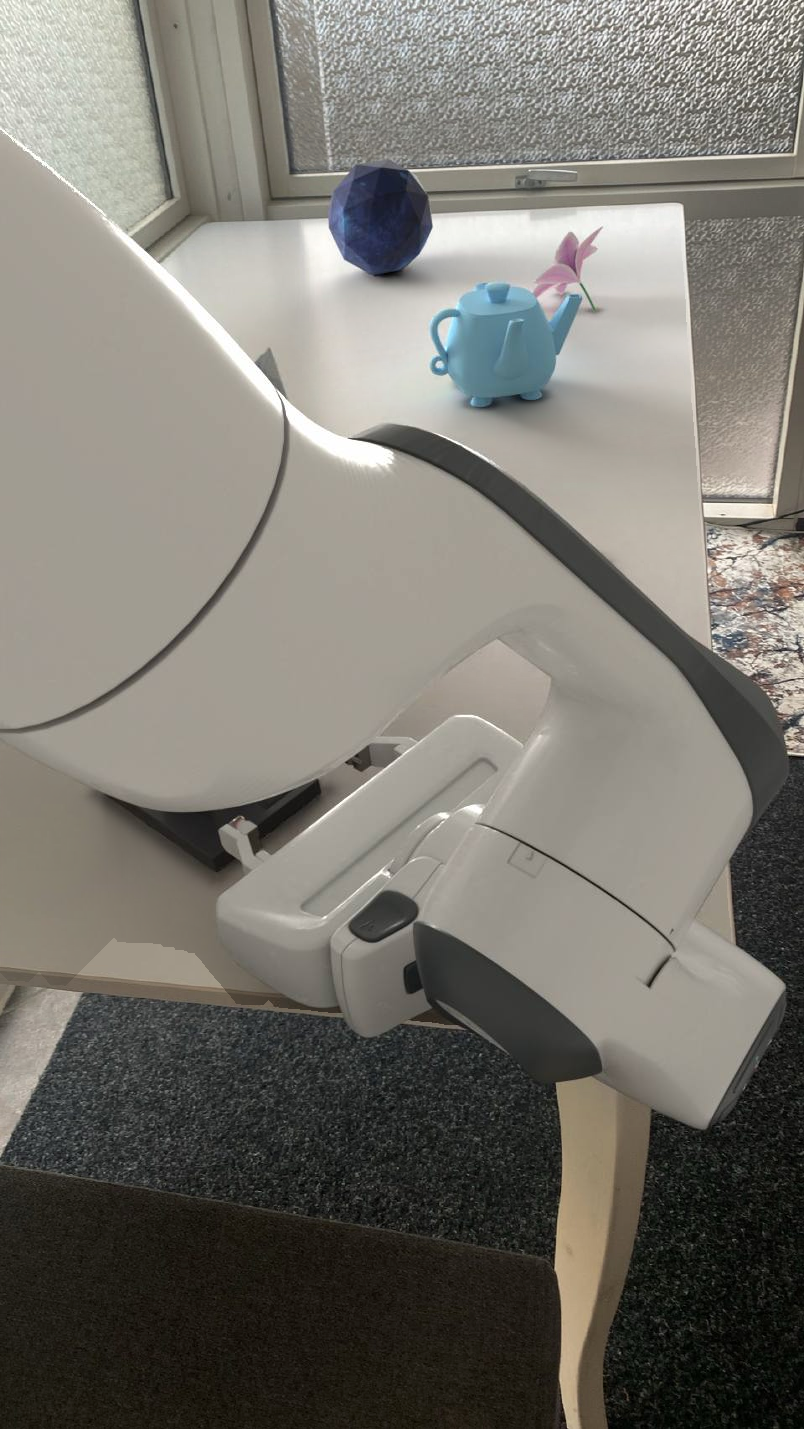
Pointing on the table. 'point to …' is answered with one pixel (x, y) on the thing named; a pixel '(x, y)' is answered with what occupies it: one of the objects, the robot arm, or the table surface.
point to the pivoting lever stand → (220, 823)
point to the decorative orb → (380, 217)
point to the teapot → (501, 342)
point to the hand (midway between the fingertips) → (290, 785)
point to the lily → (567, 265)
